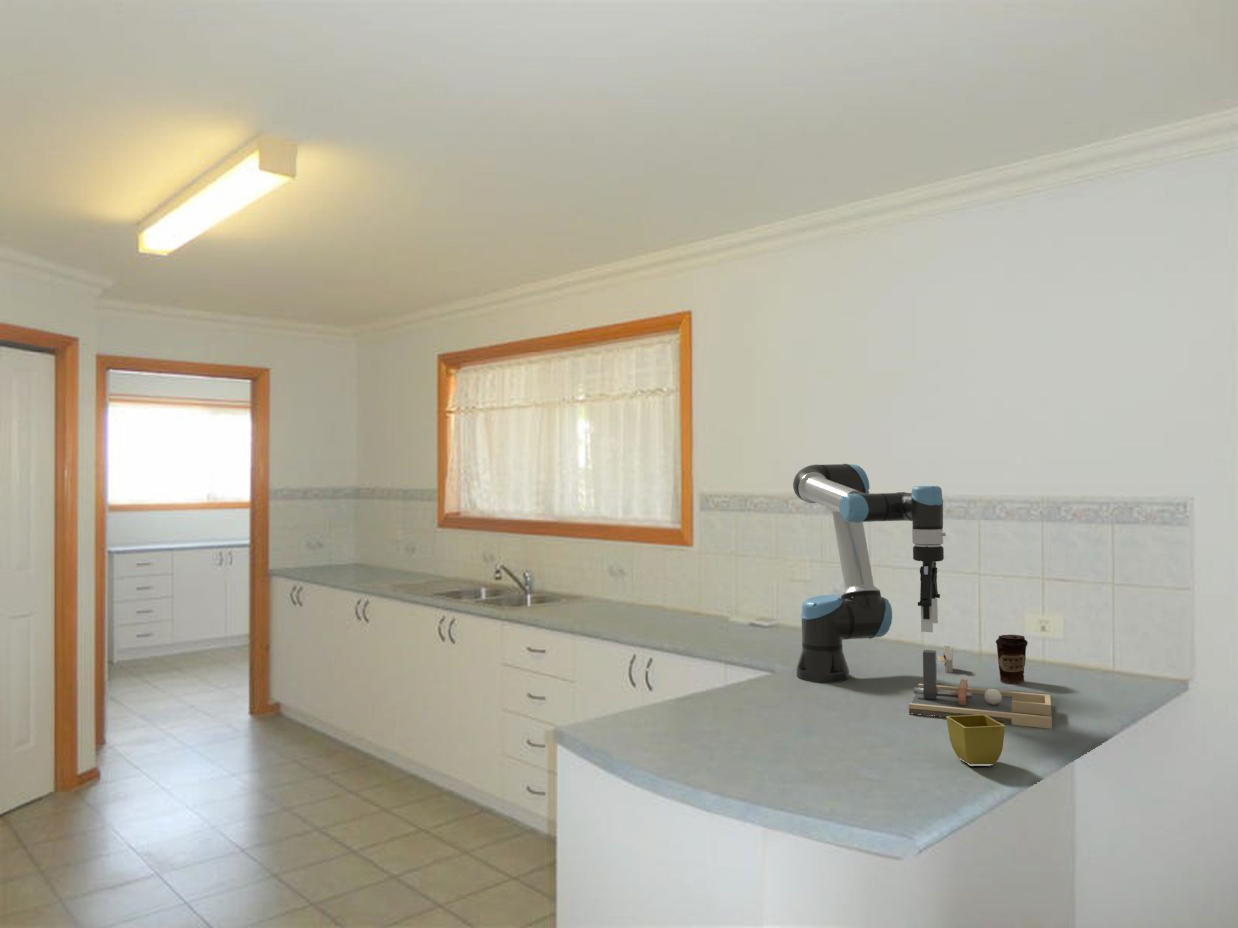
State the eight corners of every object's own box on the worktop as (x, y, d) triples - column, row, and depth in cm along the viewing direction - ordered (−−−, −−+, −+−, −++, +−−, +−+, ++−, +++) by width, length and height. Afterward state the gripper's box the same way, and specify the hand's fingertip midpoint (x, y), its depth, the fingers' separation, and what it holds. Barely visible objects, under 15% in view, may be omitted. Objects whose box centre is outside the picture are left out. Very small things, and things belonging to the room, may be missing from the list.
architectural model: (940, 673, 262) (940, 648, 262) (938, 667, 269) (937, 643, 269) (952, 673, 262) (952, 648, 262) (949, 668, 268) (949, 643, 268)
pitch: (909, 714, 219) (908, 698, 219) (918, 692, 239) (918, 678, 239) (1051, 728, 206) (1051, 711, 206) (1049, 704, 226) (1049, 689, 226)
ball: (984, 705, 220) (983, 689, 220) (984, 701, 224) (984, 686, 224) (1001, 707, 219) (1001, 691, 219) (1001, 703, 222) (1001, 687, 222)
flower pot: (946, 757, 187) (945, 715, 187) (985, 755, 188) (984, 713, 188) (965, 771, 178) (965, 727, 178) (1006, 769, 179) (1006, 725, 179)
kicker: (912, 700, 225) (911, 653, 225) (916, 691, 233) (915, 646, 233) (970, 705, 219) (970, 657, 219) (972, 697, 228) (972, 650, 228)
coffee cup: (1032, 686, 244) (1031, 639, 244) (1000, 685, 246) (999, 638, 246) (1024, 678, 253) (1023, 633, 253) (993, 677, 255) (992, 632, 255)
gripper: (939, 549, 215) (940, 636, 215) (947, 541, 237) (948, 620, 237) (907, 549, 218) (908, 634, 218) (918, 541, 241) (919, 618, 240)
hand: (929, 627), depth 227 cm, fingers open, 13 cm apart
